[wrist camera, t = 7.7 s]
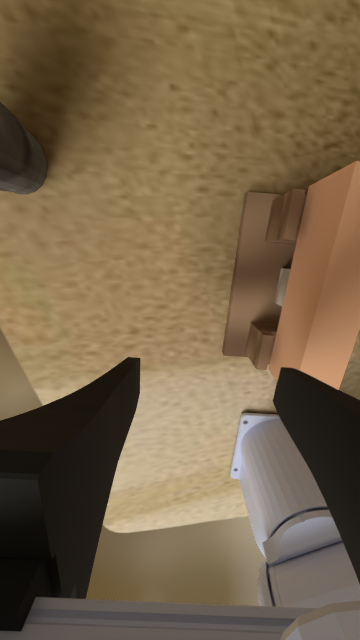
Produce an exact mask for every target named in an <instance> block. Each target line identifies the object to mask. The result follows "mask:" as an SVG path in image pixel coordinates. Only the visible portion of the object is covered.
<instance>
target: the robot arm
mask: <svg viewBox="0 0 360 640" xmlns="http://www.w3.org/2000/svg"><path fill="white" fill-rule="evenodd" d="M139 394H140V358H132V357H128V358H126V359H125V360H124V361H122V362H121V363H119V364H118V365H117V366H115V367H114V368H113V369H111V370H110V371H108V372H107V373H105V374H104V375H102V376H101V377H99V378H98V379H96V380H94V381H93V382H91V383H90V384H88V385H86V386H85V387H83V388H81V389H79V390H77V391H75V392H73V393H71V394H69V395H67V396H65V397H63V398H61V399H58V400H56V401H54V402H51V403H49V404H47V405H44V406H42V407H40V408H37V409H34V410H31V411H28V412H26V413H23V414H20V415H17V416H14V417H11V418H8V419H4V420H1V421H0V640H360V400H358V399H356V398H354V397H352V396H349V395H347V394H345V393H343V392H341V391H339V390H337V389H335V388H333V387H332V386H330V385H328V384H326V383H324V382H322V381H320V380H318V379H316V378H314V377H312V376H310V375H308V374H306V373H304V372H302V371H300V370H297V369H295V368H287V367H281V369H280V373H279V378H278V382H277V386H276V390H275V394H274V398H273V402H274V405H275V407H276V410H277V412H278V415H275V414H259V413H243V414H242V415H241V418H240V423H239V428H238V434H237V439H236V444H235V449H234V454H233V460H232V465H231V470H230V476H231V478H233V479H239V481H240V485H241V489H242V493H243V497H244V500H245V504H246V508H247V512H248V516H249V520H250V523H251V527H252V531H253V535H254V538H255V540H256V543H257V545H258V547H259V549H260V550H261V552H262V553H263V555H264V556H265V558H266V559H267V562H262V563H261V565H260V568H259V577H258V582H257V592H258V600H259V606H247V605H246V606H245V605H220V604H198V603H172V602H148V601H147V602H146V601H124V600H100V599H86V595H87V590H88V586H89V581H90V577H91V572H92V568H93V563H94V559H95V554H96V550H97V546H98V541H99V537H100V533H101V528H102V524H103V520H104V516H105V511H106V507H107V503H108V499H109V495H110V491H111V487H112V483H113V479H114V475H115V471H116V467H117V464H118V460H119V457H120V454H121V451H122V448H123V445H124V443H125V440H126V437H127V434H128V431H129V429H130V426H131V423H132V420H133V417H134V414H135V411H136V407H137V403H138V398H139ZM244 421H245V422H244Z"/></svg>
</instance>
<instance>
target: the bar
mask: <svg viewBox="0 0 360 640" xmlns="http://www.w3.org/2000/svg"><path fill="white" fill-rule="evenodd" d="M359 330H360V161H355V162H353V163H351V164H350V165H348V166H346V167H344V168H342V169H340V170H338V171H336V172H335V173H333V174H331V175H329V176H327V177H325V178H323V179H322V180H320V181H318V182H316V183H314V184H312V185H310V186H309V188H308V193H307V197H306V202H305V207H304V211H303V216H302V220H301V225H300V229H299V234H298V238H297V243H296V247H295V252H294V256H293V261H292V265H291V270H290V274H289V279H288V283H287V288H286V292H285V297H284V301H283V306H282V311H281V315H280V320H279V324H278V329H277V333H276V338H275V342H274V347H273V351H272V356H271V360H270V365H269V371H270V372H271V373H272V375H273V376H274V377H275V378H276V380H277V381H278V378H279V373H280V369H281V367H287V368H295V369H297V370H300V371H302V372H304V373H306V374H308V375H310V376H312V377H314V378H316V379H318V380H320V381H322V382H324V383H326V384H328V385H330V386H332V387H333V388H335V389H337V390H339V388H340V385H341V382H342V379H343V376H344V373H345V370H346V367H347V364H348V362H349V359H350V356H351V353H352V350H353V347H354V344H355V341H356V338H357V335H358V333H359Z"/></svg>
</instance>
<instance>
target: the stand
mask: <svg viewBox="0 0 360 640" xmlns="http://www.w3.org/2000/svg"><path fill="white" fill-rule="evenodd" d="M305 191H306V190H305V189H292V190H290V191H288V192H287V193H285V194H271V193H258V192H247V193H246V194H245V197H244V204H243V211H242V218H241V225H240V232H239V239H238V246H237V252H236V259H235V266H234V273H233V280H232V287H231V294H230V301H229V308H228V315H227V322H226V329H225V336H224V343H223V350H222V352H223V355H226V356H242V357H249V359H250V360H251V362H252V363H253V365H254V366H255V368H256V369H260V370H266V369H267V365H268V364H270V360H271V356H272V351H273V347H274V342H275V338H276V333H277V329H278V324H279V320H280V315H281V311H282V306H283V301H284V297H285V292H286V288H287V283H288V279H289V274H290V270H291V265H292V261H293V256H294V252H295V247H296V243H297V238H298V234H299V229H300V225H301V220H302V216H303V211H304V207H305V202H306V197H307V195H305Z"/></svg>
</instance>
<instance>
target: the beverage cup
mask: <svg viewBox="0 0 360 640" xmlns="http://www.w3.org/2000/svg"><path fill="white" fill-rule="evenodd" d="M46 172H47V164H46V157H45V154H44V152H43V150H42V147H41V145H40V144H39V143H38V141H37V140H36V139H35V137H34V136H32V135H31V134H30V133H29V132H28V131H27V129H26V128H25V127H24V126H23V125H22V123H21V122H20V121H19V120H18V119H17V118H16V117H15V116H14V115H13V114H12V113H11V112H10V111H9V110H8V109H7V108H6V107H5V106H4V105H3V104H2V103H1V102H0V190H2V191H10V192H15V193H18V194H29V193H32V192H35V191H36V190H37V189H38V188H40V187H41V186H42V184H43V182H44V180H45V178H46Z"/></svg>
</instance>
